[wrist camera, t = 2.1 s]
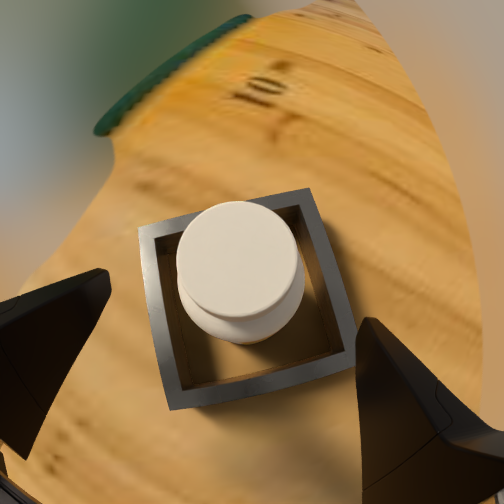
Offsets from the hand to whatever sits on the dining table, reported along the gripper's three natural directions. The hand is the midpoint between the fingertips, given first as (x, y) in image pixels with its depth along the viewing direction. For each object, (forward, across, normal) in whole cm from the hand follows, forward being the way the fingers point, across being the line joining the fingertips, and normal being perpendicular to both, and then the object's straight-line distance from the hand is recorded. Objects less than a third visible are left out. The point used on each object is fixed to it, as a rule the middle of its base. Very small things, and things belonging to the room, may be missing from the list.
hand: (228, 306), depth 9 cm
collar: (+8, 0, +5) cm, 9 cm away
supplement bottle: (+8, 0, +6) cm, 9 cm away
